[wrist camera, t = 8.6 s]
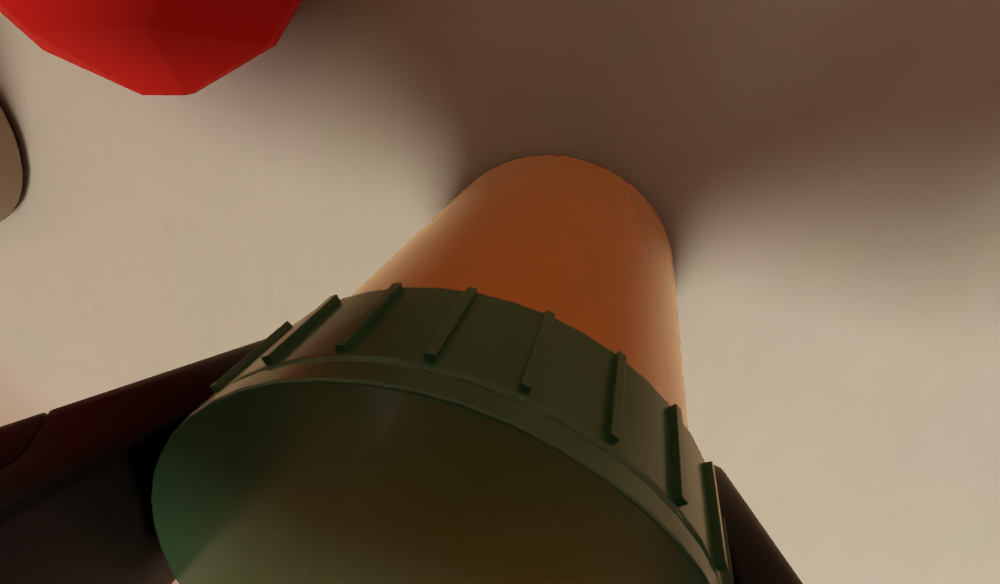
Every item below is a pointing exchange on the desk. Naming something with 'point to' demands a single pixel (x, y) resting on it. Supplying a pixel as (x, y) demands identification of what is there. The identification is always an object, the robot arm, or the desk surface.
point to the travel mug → (9, 169)
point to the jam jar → (559, 258)
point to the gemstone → (154, 37)
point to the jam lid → (436, 457)
